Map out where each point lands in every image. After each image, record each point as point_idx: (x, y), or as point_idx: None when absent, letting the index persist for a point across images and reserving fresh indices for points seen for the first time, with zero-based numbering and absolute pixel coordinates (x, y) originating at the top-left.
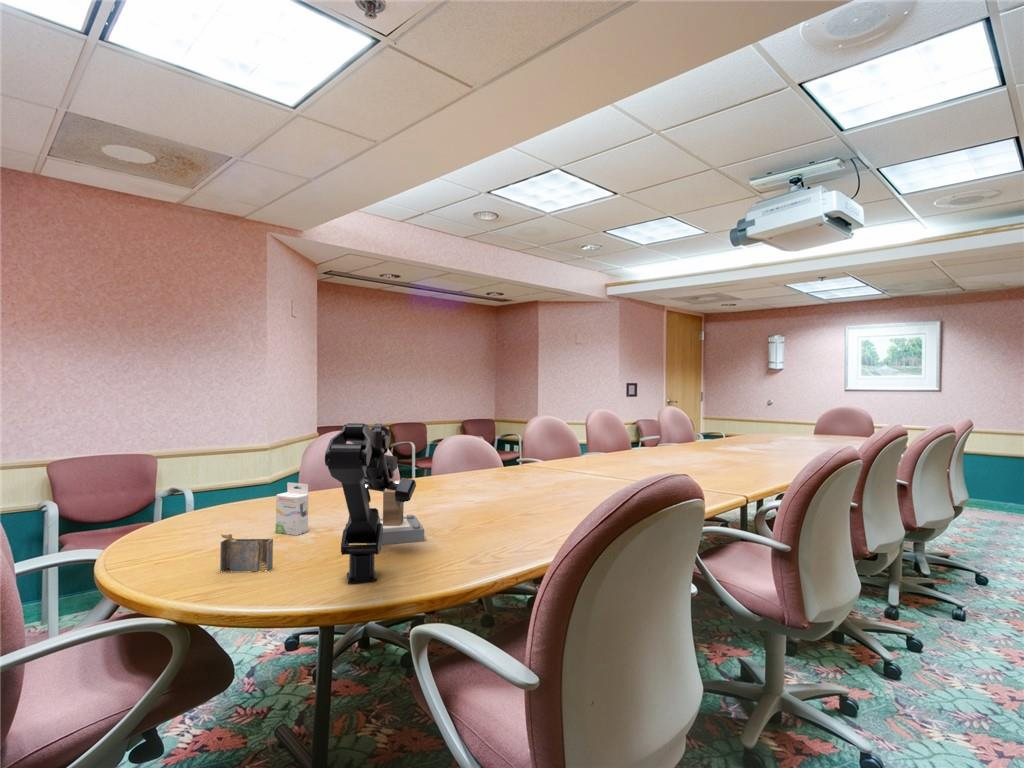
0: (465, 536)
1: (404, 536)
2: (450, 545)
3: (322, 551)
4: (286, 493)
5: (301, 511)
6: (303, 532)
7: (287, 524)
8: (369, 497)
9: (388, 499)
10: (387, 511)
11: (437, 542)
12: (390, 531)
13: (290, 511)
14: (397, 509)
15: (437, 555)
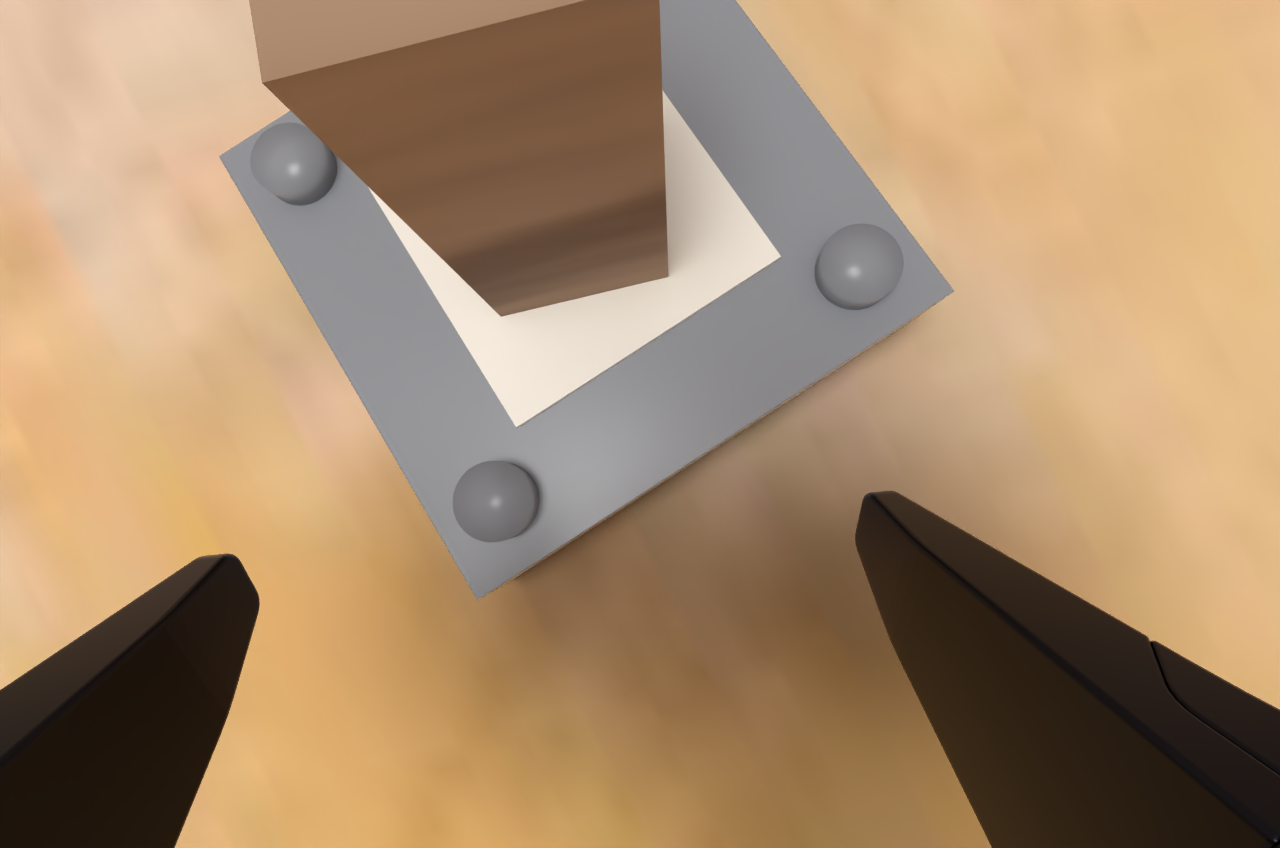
0: (1192, 99)
1: (775, 408)
2: (1181, 373)
3: (230, 804)
4: None
5: None
6: None
7: None
8: (176, 661)
9: (452, 150)
10: (503, 248)
11: (1032, 325)
12: (660, 464)
13: None
14: (633, 201)
15: (1200, 663)
